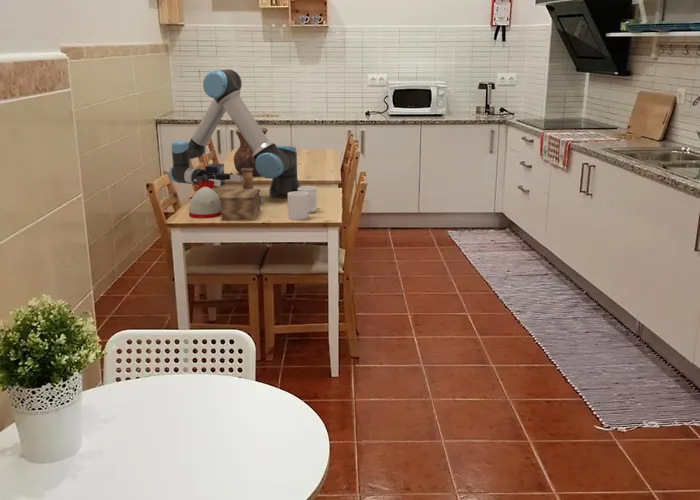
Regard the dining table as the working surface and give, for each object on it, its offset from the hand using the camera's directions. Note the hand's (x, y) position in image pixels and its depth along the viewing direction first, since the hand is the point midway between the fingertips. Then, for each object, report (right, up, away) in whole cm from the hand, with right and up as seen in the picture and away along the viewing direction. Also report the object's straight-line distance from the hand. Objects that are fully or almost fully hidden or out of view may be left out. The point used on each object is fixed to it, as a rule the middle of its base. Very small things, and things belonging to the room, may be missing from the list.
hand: (231, 181), depth 310 cm
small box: (-15, +2, +43) cm, 46 cm away
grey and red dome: (-7, -16, -20) cm, 27 cm away
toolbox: (+8, -14, -15) cm, 22 cm away
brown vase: (0, +11, +73) cm, 73 cm away
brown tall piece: (+8, -11, -3) cm, 14 cm away
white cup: (+35, -15, -16) cm, 41 cm away
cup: (+34, -18, -27) cm, 47 cm away
